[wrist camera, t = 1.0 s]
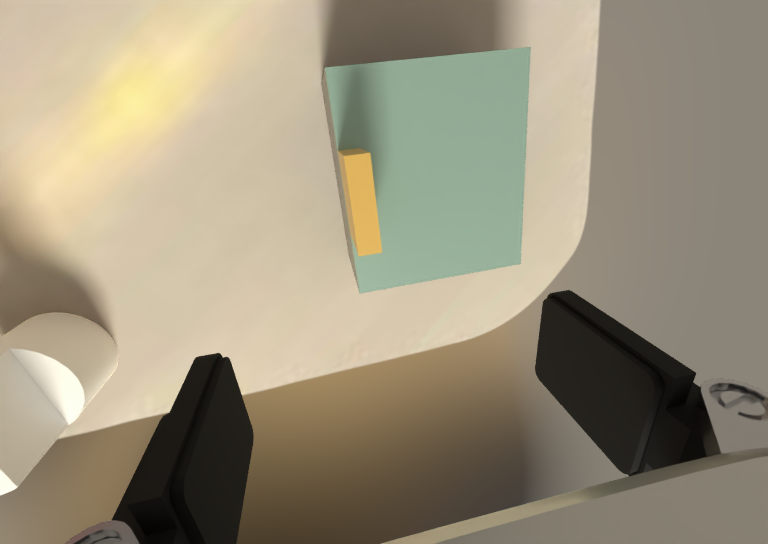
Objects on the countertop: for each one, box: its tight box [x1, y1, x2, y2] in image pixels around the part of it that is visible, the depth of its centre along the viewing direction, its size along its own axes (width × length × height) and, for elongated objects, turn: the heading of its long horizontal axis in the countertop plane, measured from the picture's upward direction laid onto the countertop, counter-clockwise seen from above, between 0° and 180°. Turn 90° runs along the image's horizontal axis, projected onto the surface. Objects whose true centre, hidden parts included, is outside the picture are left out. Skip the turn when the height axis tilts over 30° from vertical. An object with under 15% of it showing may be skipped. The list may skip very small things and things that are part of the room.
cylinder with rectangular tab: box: [0, 312, 119, 495], centre depth 30 cm, size 9×9×12 cm
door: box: [324, 47, 531, 293], centre depth 25 cm, size 16×14×7 cm
